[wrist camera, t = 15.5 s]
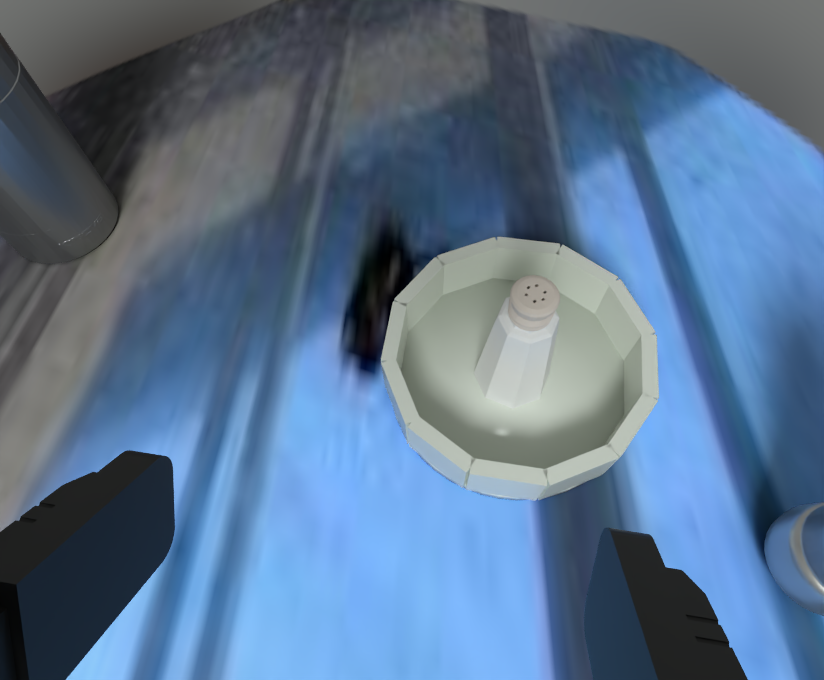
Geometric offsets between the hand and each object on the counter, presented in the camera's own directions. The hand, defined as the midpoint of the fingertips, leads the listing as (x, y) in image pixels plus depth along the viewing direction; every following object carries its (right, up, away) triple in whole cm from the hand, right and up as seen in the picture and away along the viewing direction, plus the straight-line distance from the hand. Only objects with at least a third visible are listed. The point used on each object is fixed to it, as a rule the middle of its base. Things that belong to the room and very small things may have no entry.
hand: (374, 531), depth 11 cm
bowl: (+8, +1, +32) cm, 34 cm away
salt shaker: (+8, +1, +32) cm, 33 cm away
